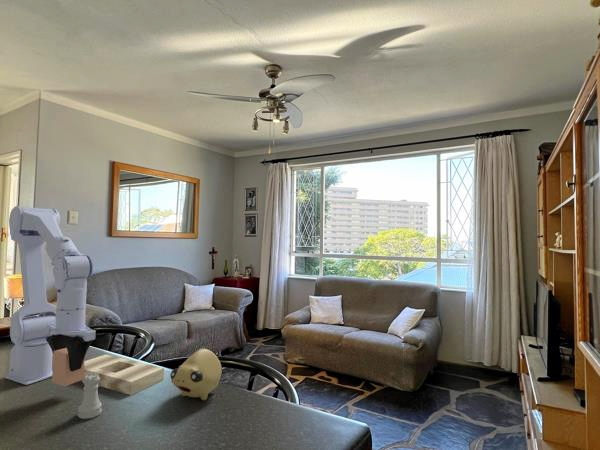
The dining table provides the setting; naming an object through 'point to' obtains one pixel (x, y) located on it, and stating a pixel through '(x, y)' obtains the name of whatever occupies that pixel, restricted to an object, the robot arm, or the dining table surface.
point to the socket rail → (123, 373)
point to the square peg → (65, 369)
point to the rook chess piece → (90, 398)
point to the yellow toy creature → (198, 374)
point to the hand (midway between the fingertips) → (68, 367)
